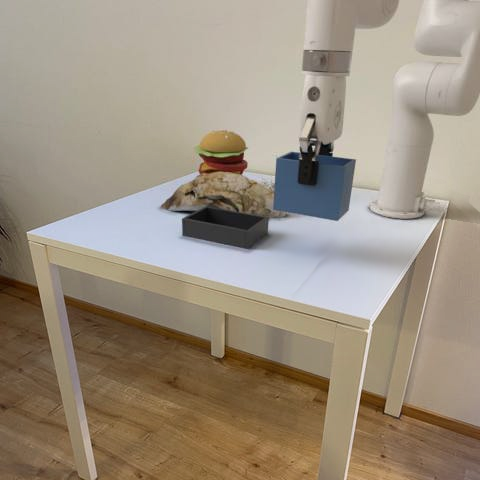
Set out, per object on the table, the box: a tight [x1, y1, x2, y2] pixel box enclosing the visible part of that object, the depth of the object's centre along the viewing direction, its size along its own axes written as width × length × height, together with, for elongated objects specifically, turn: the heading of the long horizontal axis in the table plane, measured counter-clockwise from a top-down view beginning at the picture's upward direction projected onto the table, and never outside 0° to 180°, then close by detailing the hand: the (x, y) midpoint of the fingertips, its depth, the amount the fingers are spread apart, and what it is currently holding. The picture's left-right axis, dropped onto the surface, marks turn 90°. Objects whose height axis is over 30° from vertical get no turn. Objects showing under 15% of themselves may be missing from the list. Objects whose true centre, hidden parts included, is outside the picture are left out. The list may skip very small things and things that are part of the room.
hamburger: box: [193, 129, 249, 175], centre depth 124 cm, size 16×14×15 cm
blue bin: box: [273, 151, 357, 222], centre depth 84 cm, size 12×7×9 cm, turn 64°
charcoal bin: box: [181, 206, 270, 250], centre depth 96 cm, size 15×10×4 cm, turn 64°
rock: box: [160, 172, 288, 219], centre depth 110 cm, size 16×10×30 cm
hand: (314, 178), depth 83 cm, fingers closed on blue bin, 7 cm apart
